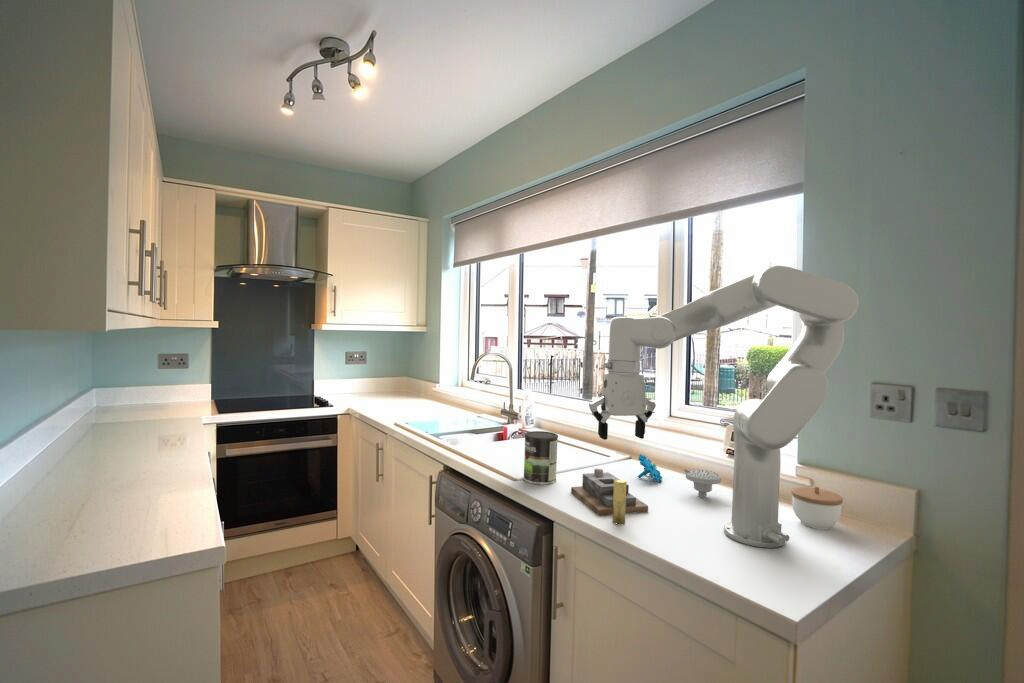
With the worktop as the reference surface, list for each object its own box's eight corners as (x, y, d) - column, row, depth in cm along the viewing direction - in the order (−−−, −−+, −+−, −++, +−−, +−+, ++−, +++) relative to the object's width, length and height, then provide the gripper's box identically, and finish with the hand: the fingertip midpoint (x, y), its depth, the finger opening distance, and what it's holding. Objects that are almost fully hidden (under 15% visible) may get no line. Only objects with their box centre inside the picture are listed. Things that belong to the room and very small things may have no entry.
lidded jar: (780, 517, 125) (781, 481, 125) (814, 515, 127) (816, 479, 127) (816, 535, 114) (817, 495, 114) (852, 531, 117) (854, 492, 117)
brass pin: (627, 524, 118) (628, 483, 117) (616, 525, 117) (617, 483, 117) (621, 519, 121) (622, 479, 120) (610, 520, 120) (611, 479, 120)
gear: (658, 481, 148) (637, 453, 152) (643, 492, 149) (623, 465, 154) (668, 477, 157) (648, 452, 161) (654, 488, 159) (634, 462, 163)
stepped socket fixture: (647, 511, 126) (648, 484, 126) (598, 515, 123) (599, 487, 123) (615, 489, 144) (616, 465, 144) (571, 492, 140) (571, 468, 140)
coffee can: (533, 486, 144) (535, 439, 144) (517, 476, 153) (518, 432, 153) (563, 482, 149) (564, 436, 149) (545, 473, 158) (546, 430, 158)
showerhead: (683, 464, 146) (719, 468, 143) (682, 488, 146) (718, 493, 143) (683, 473, 137) (722, 477, 134) (682, 498, 137) (721, 503, 134)
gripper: (597, 368, 113) (595, 442, 113) (664, 369, 117) (661, 440, 117) (584, 366, 120) (582, 435, 120) (648, 367, 124) (645, 434, 125)
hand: (621, 438), depth 119 cm, fingers open, 9 cm apart
